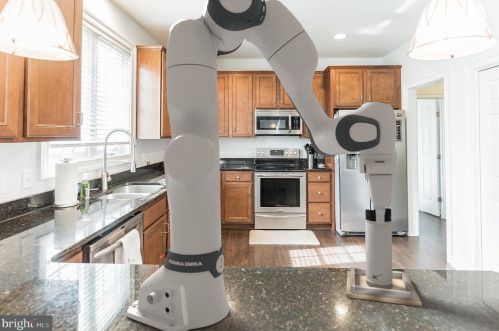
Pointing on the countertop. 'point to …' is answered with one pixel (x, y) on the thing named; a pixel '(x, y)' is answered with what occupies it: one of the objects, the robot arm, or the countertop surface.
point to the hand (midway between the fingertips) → (378, 220)
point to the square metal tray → (397, 294)
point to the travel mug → (378, 250)
